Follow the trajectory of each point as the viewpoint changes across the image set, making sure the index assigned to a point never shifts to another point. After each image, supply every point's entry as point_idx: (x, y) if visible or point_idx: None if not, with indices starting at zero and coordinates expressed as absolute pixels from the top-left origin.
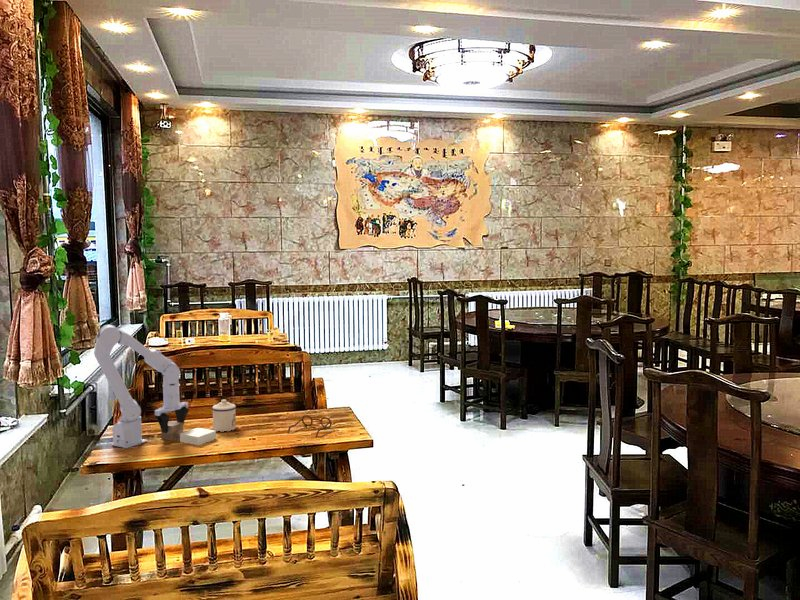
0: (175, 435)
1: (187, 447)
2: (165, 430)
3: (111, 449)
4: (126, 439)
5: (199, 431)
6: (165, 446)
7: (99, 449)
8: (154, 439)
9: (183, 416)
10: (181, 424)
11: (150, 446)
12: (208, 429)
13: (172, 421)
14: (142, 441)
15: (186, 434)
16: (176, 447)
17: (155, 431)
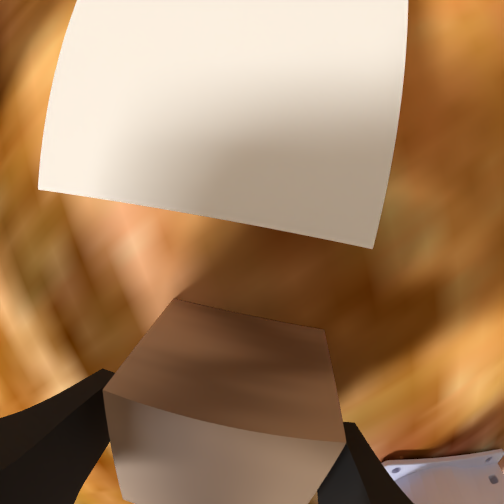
0: (278, 344)
1: (465, 59)
2: (366, 447)
3: None
4: (501, 489)
5: (173, 34)
6: (488, 276)
7: None
8: None
9: (26, 448)
10: (141, 388)
11: (483, 379)
12: (73, 11)
13: (138, 497)
14: (415, 467)
15: (383, 121)
16: (496, 160)
17: None
